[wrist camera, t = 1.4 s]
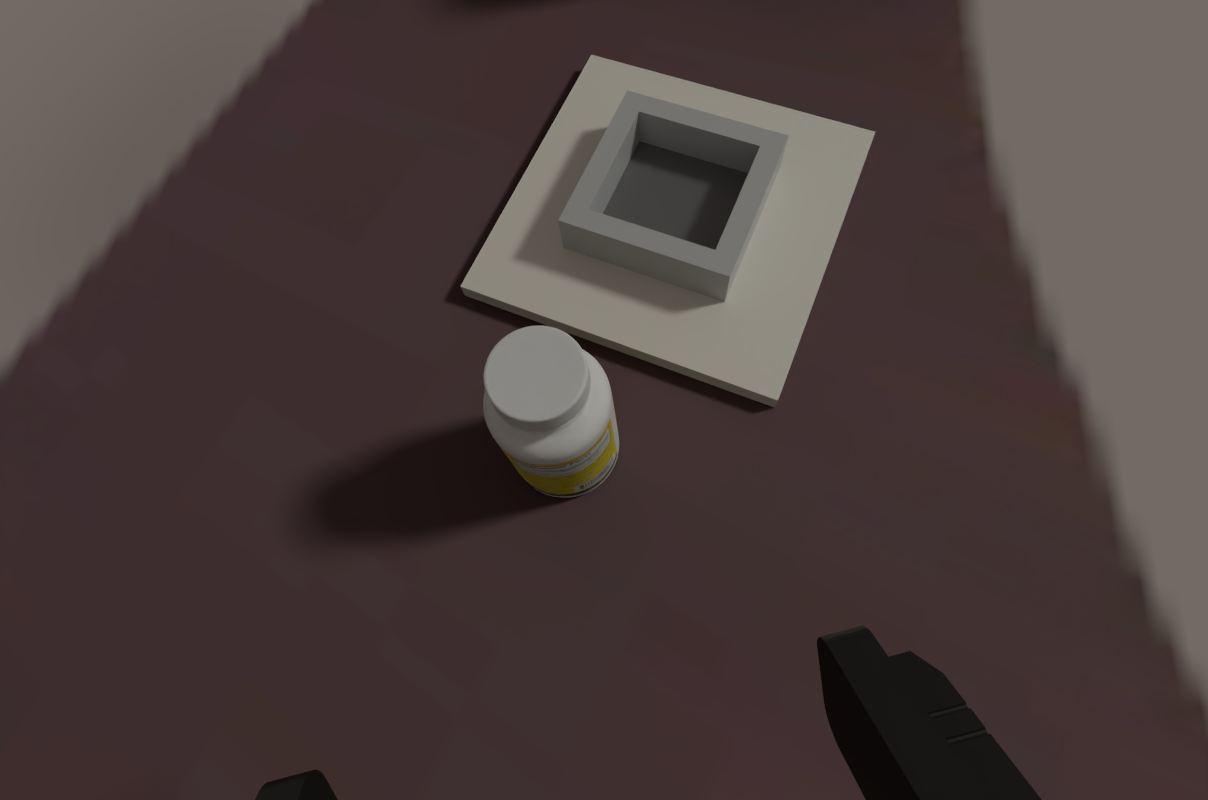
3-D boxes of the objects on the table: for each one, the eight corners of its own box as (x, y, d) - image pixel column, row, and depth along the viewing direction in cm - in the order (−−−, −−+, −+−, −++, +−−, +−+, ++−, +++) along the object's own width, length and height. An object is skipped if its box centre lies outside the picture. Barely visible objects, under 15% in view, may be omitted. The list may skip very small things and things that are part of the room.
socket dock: (464, 295, 38) (447, 261, 35) (592, 67, 44) (588, 19, 40) (774, 407, 35) (787, 380, 31) (869, 144, 40) (889, 98, 37)
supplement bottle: (522, 394, 36) (480, 301, 27) (625, 404, 35) (617, 312, 26) (504, 494, 34) (451, 432, 25) (612, 506, 33) (599, 446, 24)
